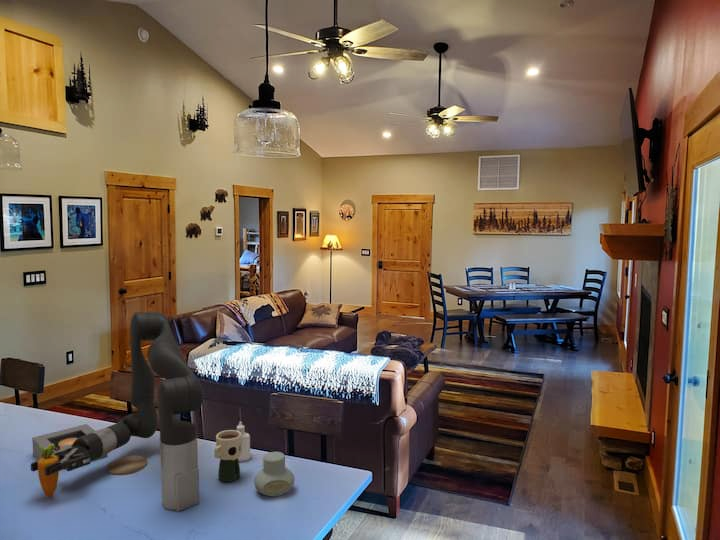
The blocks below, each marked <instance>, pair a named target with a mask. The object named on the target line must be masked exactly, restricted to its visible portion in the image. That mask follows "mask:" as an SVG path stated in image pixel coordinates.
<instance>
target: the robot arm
mask: <svg viewBox="0 0 720 540" xmlns="http://www.w3.org/2000/svg"><path fill="white" fill-rule="evenodd" d="M129 325H130V326H129V338H130V339H129V340H130V342H129V343H130V360H131V361H130V362H131V388H130V405H131V406H132V407H134V408H136V409H137V412H138V413H137V412H136V413H135V412H134V413H130V414H128V415H126V416H124V417H122V418H121V419H120V420H118V422H116V423H115V424H112V425H109V426H106V427H104V428H100V429H97V430H95V432H92V433H90V434H87V435H85V436H82V437H80V438H78V439H76V440H75V442H74V443H73V445H72V446H71V447H66V448H64V449H60V446H56V447H54V448H53V449H52V451H53V450H55V452H54V453H53V454H52V455H55V456H57V457H59V462H56V463H54V464H52V465H50V466H47V467H45V469H44V471H45V475H46V476H49V475H51V474H53V473H55V472H57V471H59V472H60V471H61V472H62V471H67V472H71V471H73V470H76V469H77V470H78V469H80V468H84V467H85V466H88V465H90V464H91V463H92V462H94V461H93V460H95V459H97V458H100V457H102V456H104V455H106V454H107V455H108V454H109V453H111V452H113V451H115V450H117V449H118V448H121V447H123V446H125V445H127V444H128V443H129V441H130V440H131V437H135V438H136V437H137V438H142V439H149V438H151V437H153V435H155V433H156V431H157V429H158V424H159V445H160V446H159V447H160V448H159V449H160V481H161V483H160V486H161V506H162V507H163V508H164V509H167V510H171V511H176V512H180V511H183V510H185V509H188V508H190V507H192V506H195V505H197V504H199V503H200V473H199V471H200V469H199V460H198V459H199V458H198V453H199V451H198V428H197V425H196V424H194V422H190V421H185V420H181V419H180V420H179V419H176V418H174V416H175V415H181V414H186V413H191V412H195V411H197V410H199V409H200V408H201V407H202V405H203V403H204V392H203V391H204V390H203V386H202V385H201V382H200V380H199V378H198V377H197V375H196V374H195V372H193V370H192V369H191V367H190V366H189V365H188V362H187V361H186V359H185V357H184V354H183V352H182V350H181V348H180V345H178V343H177V341H176V339H175V337H174V335H173V332H172V328H171V326H170V322H169V320H168V318H167V316H166V315H165V314H164V313H162V312H154V311H152V312H149V311H148V312H147V311H137V312H134V313H133V315H131V319H130V324H129ZM146 341H147V342H148V341H149V342H151V343H150V345H149V346H148V348H147V352H146V357H147V360H146V357H145V355H144V353H143V348H142V342H146ZM148 362H149V363H148ZM154 373H155V374H156V375H157V376H159V377H161V378H163V380H161V381H159V383H158V385H157V390H156V388H155V387H156V378H155V374H154ZM155 391H157V392H156V394H157V395H156V396H157V397H156V398H157V407H158V412H157V408H156V405H155ZM157 413H158V414H157ZM158 418H159V419H158ZM52 451H51V452H52ZM46 455H47V452H46ZM42 457H44V455H43V454H42ZM91 461H92V462H91ZM95 461H96V460H95ZM37 462H38V460H35V461H34V462H31V463H30V471H32V472H36V471H38V465H37ZM75 464H76V465H75ZM73 465H75V466H73Z"/></svg>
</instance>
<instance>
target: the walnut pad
mask: <svg viewBox="0 0 720 540" xmlns="http://www.w3.org/2000/svg"><path fill="white" fill-rule="evenodd" d="M147 465H148V460H147V458H146V457H145V456H142V455H128V456H122V457H120V458H119V457H118V458H117V459H114V460H112V461H111V462H109V463H108V464H107V472H108V473H109V474H110V473H111V475H115V476H124V475H131V474H134V473H137V472H140V471H141V470H144V469H145V468H146V467H147ZM144 467H145V468H144Z"/></svg>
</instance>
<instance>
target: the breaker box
mask: <svg viewBox="0 0 720 540" xmlns="http://www.w3.org/2000/svg"><path fill="white" fill-rule="evenodd" d="M95 431H96V430H95V429H93V428H92V427H91V426H90V425H89V424H87V423H86V424H82V425H78V426H72V427H69V428H66V429H61V430H57V431H53V432H49V433H45V434H41V435H36V436H33V437H32V439H31V441H32V455H33V456H34V457H35V459H36V461H38V460H39V459H41V458H42V454H43V453H42V452H41V450H40V449H39V446H40V445H41V446H42V447H43V449H44V448H45V447H48V445H49V444H54V447H56V446H58V443H59V442H60V441H62V440H64V439H68V438H80V437H82V436H85V435H87V434H90V433H92V432H95ZM72 445H73V444H70V445H67V446H63V447H60V449H64V448H66V447H71V446H72ZM57 458H58V461H59V457H57ZM105 458H108V454H106V455H104V456H102V457H100V458H97V459H95V460H93V461H92V462H95V461H99V460H101V459H105ZM75 465H76V464H75ZM75 465H73V466H75Z"/></svg>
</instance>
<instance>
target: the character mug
mask: <svg viewBox="0 0 720 540" xmlns="http://www.w3.org/2000/svg"><path fill="white" fill-rule="evenodd" d="M242 443H243V438H242V435H241V433H240V432H239V431H237V429H236V430H235V429H226V430H222V431H219V432H218V433H217V434H216V436H215V447H214V458H215V459H219V464H218V466H219V467H218V474H217V478H218V479H220V480H222V481H224V482H233V481H236V480H237V477H238V478H240V477H241V467H240V462H239V460H238V458H239V457H240V455H241V453H242V446H241V445H242Z"/></svg>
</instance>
